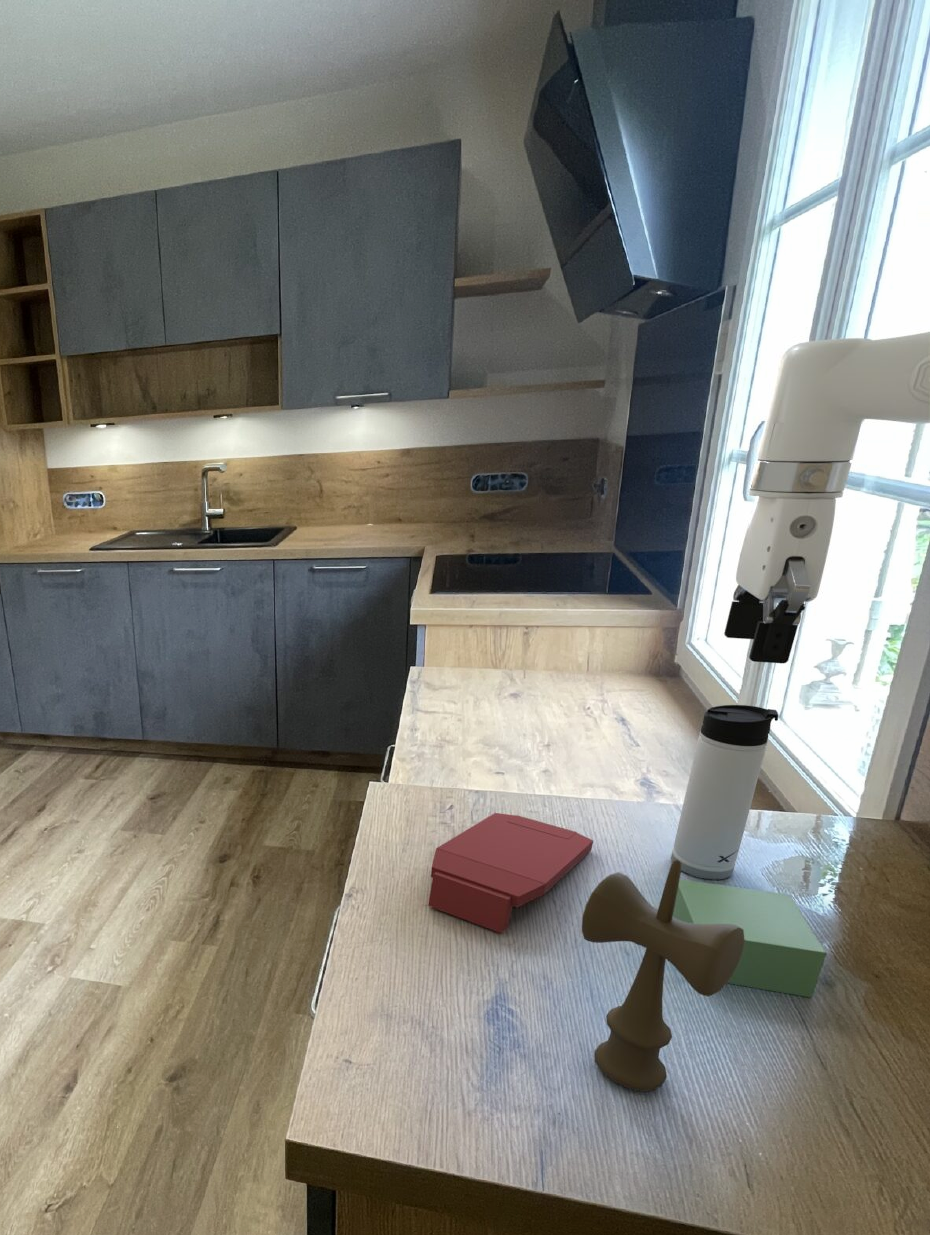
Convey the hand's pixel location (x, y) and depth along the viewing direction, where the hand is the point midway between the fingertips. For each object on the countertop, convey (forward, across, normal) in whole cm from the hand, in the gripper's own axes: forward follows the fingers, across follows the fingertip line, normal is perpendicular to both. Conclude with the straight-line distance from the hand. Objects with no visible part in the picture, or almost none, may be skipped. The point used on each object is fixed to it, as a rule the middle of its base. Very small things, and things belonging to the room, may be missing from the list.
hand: (753, 649), depth 84 cm
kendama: (+27, -38, +12) cm, 48 cm away
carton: (+27, -8, +21) cm, 35 cm away
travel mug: (+27, 0, -1) cm, 27 cm away
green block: (+27, -18, 0) cm, 32 cm away
